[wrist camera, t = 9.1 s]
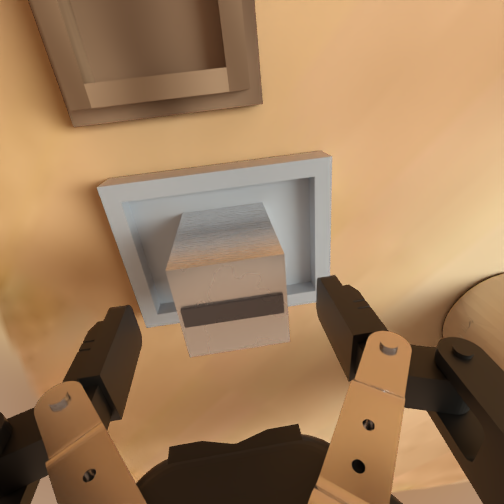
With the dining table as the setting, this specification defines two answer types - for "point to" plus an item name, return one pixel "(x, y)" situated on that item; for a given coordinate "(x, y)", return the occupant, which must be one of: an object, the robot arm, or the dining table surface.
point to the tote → (219, 196)
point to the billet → (229, 280)
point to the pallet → (150, 56)
